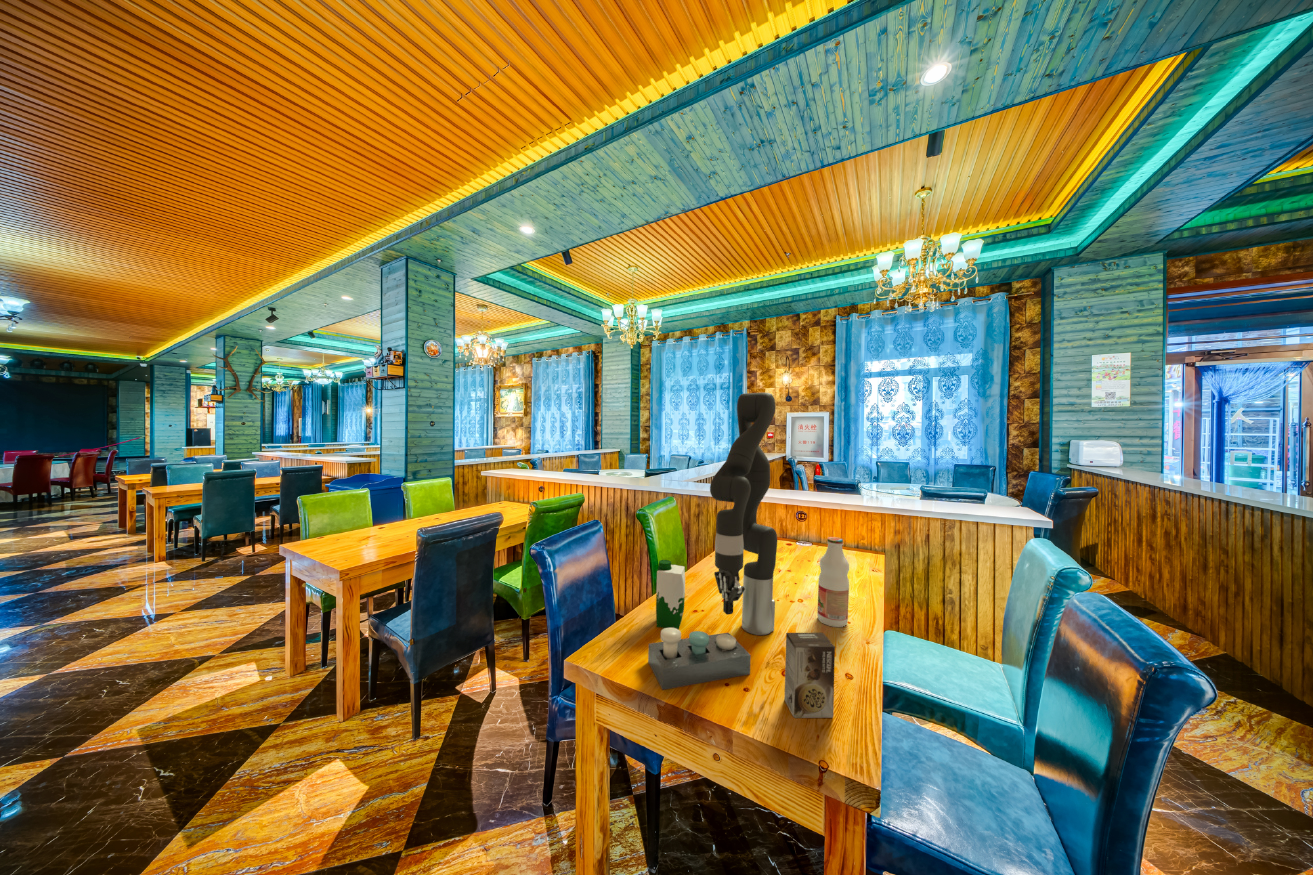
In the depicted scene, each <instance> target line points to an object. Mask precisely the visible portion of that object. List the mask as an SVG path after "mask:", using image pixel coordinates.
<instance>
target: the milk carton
mask: <svg viewBox="0 0 1313 875" xmlns="http://www.w3.org/2000/svg"><path fill="white" fill-rule="evenodd" d="M685 574H686V573H685V566H683V565H677V564H672V561H670V560H668V559H660V560H659V561H658V567H657V571H656V597H655V598H656V599H655V615H656V616H655V618H656V628H662V629H664V628H676V629H678V630H680V627H681V623H682V620H683V617H684V616H683V615H684V612H685V611H684V610H685V600H686V599H685V594H686V575H685Z"/></svg>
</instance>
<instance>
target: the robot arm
mask: <svg viewBox="0 0 1313 875" xmlns="http://www.w3.org/2000/svg"><path fill="white" fill-rule="evenodd" d="M736 413H737V424H738V433H739V434H738V435H739V436H738V437H737V438H736V439H735V440H734V442H733V443H732V445H731V447H730V449H729V452H728V454H727V458H726V459H725V461H724V463H723V464H722V465H721V467H720V468H719V469H718V471H717V472H716V473H715V474H714V476H713V478H712V479H711V482H710V485H709V492H710V495H711V497H712V498H713V499H714V500H715V501H719V502H726V503H727V502H728V503H733V506H732V508H728V509H721V510H719V511H718V512H717V514H716V528H715V529H716V534H715V542H714V543H715V544H714V566H715V567H716V568H717V569H718V571H714V578H715V581H716V586H717V589H718V593H719V594H720V595H721V598H722V599H723V603H722V604H723V606H722V607H723V613H724V614H725V615H733V614H734V602H738V601H739V600H740V598H741V596H742V607H741V608H742V609H741V611H742V612H741V613H742V614H741V628H742V629H743V631H745V632H747V633H749V634H752V635H756V636H766V635H769V634H770V633H771V632H773V631H775V614H776V613H775V611H776V600H774V599H773V598H774V594H773V593H774V572H775V568H776V562H777V561H776V560H777V552H778V551H777V549H778V534H777V532H776V529H775V528H773V527H772V526H767V525H763V524H758V522H757V520H758V519H757V516H758V515H757V513H758V508H759V506H760V504H761V502H762V500H763V499H764V497H765V496H766V494H767V493H768V490H769V488H770V486H771V464H770V461H769V459H768V457H767V456H766V453H765V452H764V451H763V449H762V448H761V446H760V444H761V441H762V440H763V438H764V437H765V435H766V433H767V432H768V431H767V430H768V429H769V427H770V425H771V423H772V421H773V419H774V417H775V413H776V400H775V397H774V395H773V394H772V393H770V392H748V393H746V392H745V393H742V394H740V395H739V396H738V398H737V403H736ZM744 551H746V552H748V553H749V552H750V553H753V554H756V555H757V560H755V561H749V562H747V563H745V564H744ZM742 569H743V579H742V580H743V582H742V583H743V584H742V585H741V584H740V571H741V570H742Z"/></svg>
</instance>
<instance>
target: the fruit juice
mask: <svg viewBox="0 0 1313 875" xmlns="http://www.w3.org/2000/svg"><path fill="white" fill-rule="evenodd" d="M826 540H827V541H826V542H827V548H826V551H825V553H824V554H823V555H822V556H821V558H820V560H819V567H820V574H819V576H818V585H817V586H818V588H817V591H818V592H817V619H818V621H819V622H820V623H822V624H824V625H826V626H829V627H833V628H844V627H846V626H847V625H848V622H849V621H848V620H849V597H850V596H849V594H850V591H849V590H850V580H849V578H848V574H849V572H850V563H849V561H848V559H847V557H846V556H845V553H844V550H843V545H844V539H843V538H840V537H836V536H828V537H827V538H826ZM845 625H846V626H845ZM843 626H844V627H843Z"/></svg>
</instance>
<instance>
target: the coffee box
mask: <svg viewBox="0 0 1313 875" xmlns="http://www.w3.org/2000/svg"><path fill="white" fill-rule="evenodd" d="M785 635H786V636H785V666H784V667H785V669H784V670H785V671H784V672H785V673H784V702H785V704H786V706H787V707H788V709H789V712H790V713H791V715H792V717H793V718H794V719H810V718H811V719H815V718H818V719H819V718H821V719H823V718H824V719H825V718H827V719H828V718H831V719H832V718H834V710H835V708H834V706H835V705H834V702H835V701H834V700H835V699H834V698H835V697H834V696H835V695H834V694H835V664H836V663H835V662H836V661H835V660H836V659H835V657H836V655H835V654H836V646H835V645H834V644H833V643H832V642H831V641H830V639H829V638H828V637H827V636H826V635H825V633H824V632H786V634H785Z"/></svg>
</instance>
